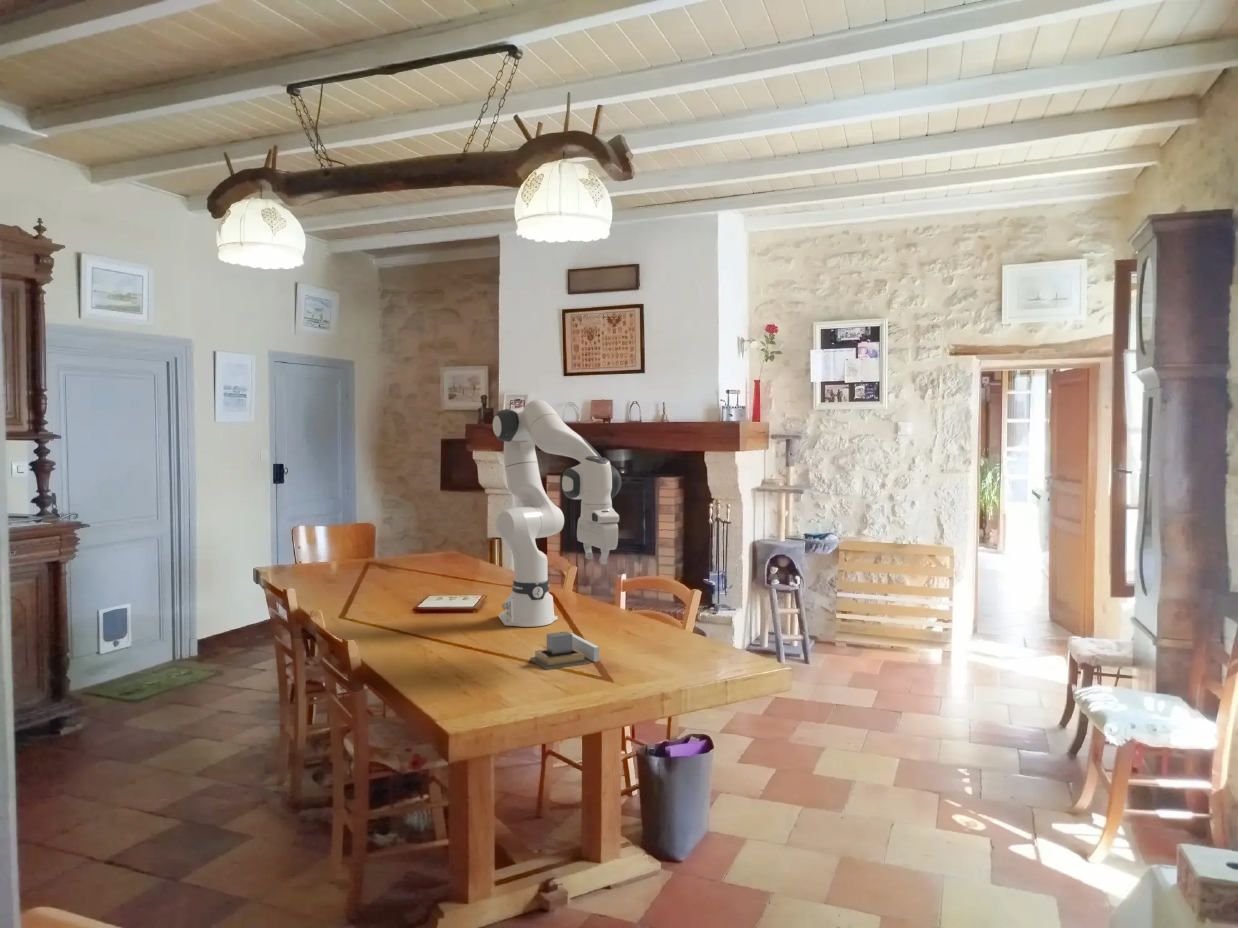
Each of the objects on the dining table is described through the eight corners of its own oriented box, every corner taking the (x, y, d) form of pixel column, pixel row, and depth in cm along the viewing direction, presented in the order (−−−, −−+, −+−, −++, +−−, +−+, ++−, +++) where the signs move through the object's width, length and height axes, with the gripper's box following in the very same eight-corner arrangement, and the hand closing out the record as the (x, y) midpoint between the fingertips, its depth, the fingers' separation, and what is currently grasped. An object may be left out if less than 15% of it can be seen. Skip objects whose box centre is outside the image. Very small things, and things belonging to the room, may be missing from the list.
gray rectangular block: (546, 658, 232) (546, 633, 231) (566, 656, 234) (566, 631, 234) (552, 662, 228) (552, 637, 228) (572, 659, 231) (572, 634, 231)
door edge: (567, 646, 246) (567, 633, 246) (571, 646, 247) (571, 632, 247) (594, 661, 231) (594, 647, 230) (599, 661, 231) (599, 646, 231)
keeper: (530, 659, 233) (530, 650, 233) (572, 653, 239) (572, 644, 239) (545, 669, 223) (545, 660, 223) (589, 663, 229) (589, 653, 229)
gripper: (571, 510, 246) (571, 556, 247) (601, 517, 228) (601, 567, 229) (591, 509, 249) (590, 555, 250) (622, 516, 231) (621, 566, 232)
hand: (596, 561), depth 239 cm, fingers open, 8 cm apart
